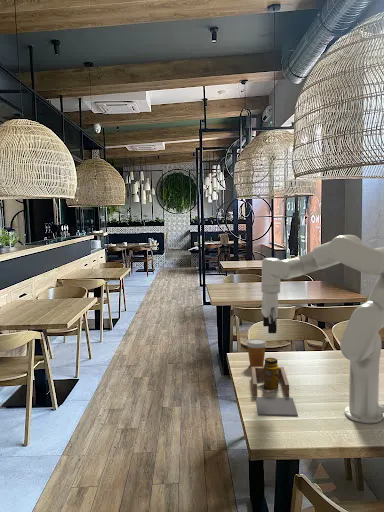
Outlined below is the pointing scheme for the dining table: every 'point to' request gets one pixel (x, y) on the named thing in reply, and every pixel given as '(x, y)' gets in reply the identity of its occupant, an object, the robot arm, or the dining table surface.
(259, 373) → the frame
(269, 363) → the condiment
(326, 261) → the robot arm
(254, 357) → the disposable coffee cup
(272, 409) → the mat
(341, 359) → the dining table surface
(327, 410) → the dining table surface
